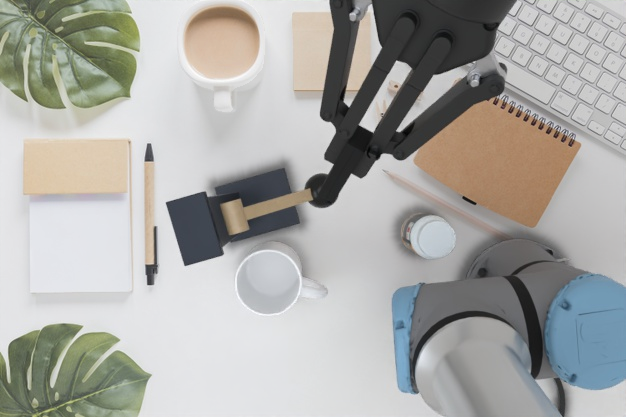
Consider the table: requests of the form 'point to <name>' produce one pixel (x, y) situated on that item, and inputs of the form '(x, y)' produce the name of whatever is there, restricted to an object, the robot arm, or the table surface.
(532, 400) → the robot arm
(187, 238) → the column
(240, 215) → the lever
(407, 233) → the pill bottle
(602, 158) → the table surface
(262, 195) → the footplate
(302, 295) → the mug
